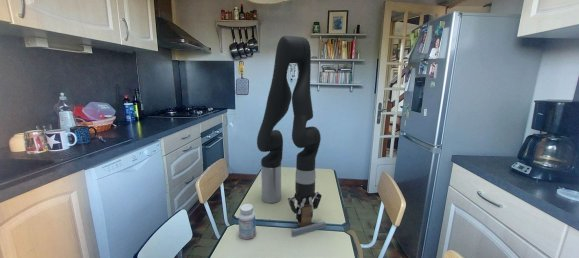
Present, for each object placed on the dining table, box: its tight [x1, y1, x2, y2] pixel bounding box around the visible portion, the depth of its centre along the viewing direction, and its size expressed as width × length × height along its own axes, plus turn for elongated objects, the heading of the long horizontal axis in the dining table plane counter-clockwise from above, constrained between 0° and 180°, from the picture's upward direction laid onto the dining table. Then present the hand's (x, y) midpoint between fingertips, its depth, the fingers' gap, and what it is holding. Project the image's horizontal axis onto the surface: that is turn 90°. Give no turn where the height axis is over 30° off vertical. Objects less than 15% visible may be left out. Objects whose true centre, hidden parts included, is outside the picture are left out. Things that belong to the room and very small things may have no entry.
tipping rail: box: [291, 221, 327, 237], centre depth 92 cm, size 1×14×2 cm, turn 113°
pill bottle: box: [238, 203, 257, 240], centre depth 89 cm, size 6×6×11 cm
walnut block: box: [297, 204, 313, 228], centre depth 95 cm, size 4×4×9 cm
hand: (304, 219), depth 96 cm, fingers closed on walnut block, 4 cm apart
